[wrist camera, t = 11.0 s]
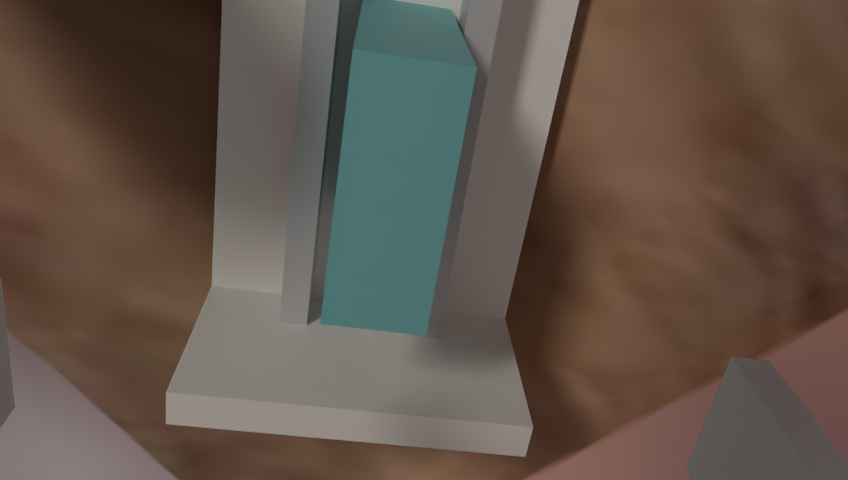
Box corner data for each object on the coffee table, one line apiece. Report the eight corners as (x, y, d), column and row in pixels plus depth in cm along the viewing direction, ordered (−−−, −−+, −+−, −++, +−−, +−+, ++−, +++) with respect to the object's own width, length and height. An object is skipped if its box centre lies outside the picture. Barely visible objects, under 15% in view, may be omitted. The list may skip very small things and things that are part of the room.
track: (235, -218, 27) (171, -255, 19) (608, -152, 29) (693, -160, 21) (215, 302, 37) (165, 423, 29) (496, 333, 38) (525, 456, 30)
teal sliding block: (363, -5, 30) (352, 48, 21) (451, 9, 30) (477, 67, 21) (338, 203, 34) (320, 323, 25) (416, 213, 34) (426, 335, 25)
